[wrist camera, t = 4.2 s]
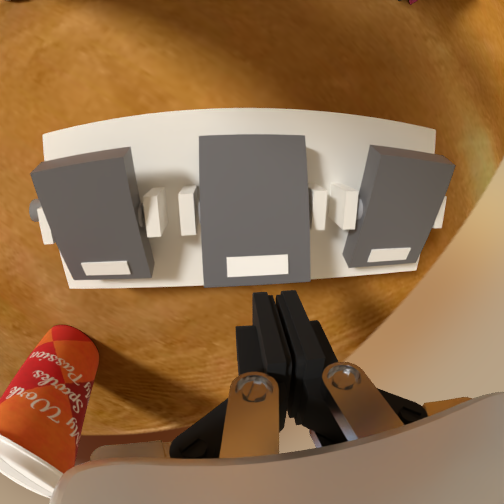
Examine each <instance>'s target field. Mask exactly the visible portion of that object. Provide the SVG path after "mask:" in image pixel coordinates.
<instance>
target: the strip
mask: <svg viewBox="0 0 504 504" xmlns="http://www.w3.org/2000/svg"><path fill="white" fill-rule="evenodd" d="M236 134H278V135H305V142H306V157H307V174H308V193H309V219H310V268H311V279H322V278H336V277H348V276H360V275H372V274H383V273H394V272H404V271H414V270H417V265H418V261H419V257H420V255H419V257H418V259H417V261H416V263H408V264H395V265H383V266H370V267H356V268H348V266H347V263H346V261H345V259H344V257H343V255H342V253H343V250H344V246H345V243H346V239H347V236H348V232H349V229H355V224H356V214H357V204H358V194H359V190H360V186H361V182H362V178H363V174H364V169H365V165H366V160H367V156H368V151H369V146H370V145H378V146H386V147H394V148H401V149H408V150H414V151H420V152H426V153H432V154H435V141H436V130H435V129H431V128H427V127H422V126H417V125H413V124H408V123H403V122H397V121H392V120H386V119H380V118H374V117H367V116H360V115H352V114H344V113H335V112H325V111H313V110H298V109H277V108H220V109H198V110H183V111H172V112H161V113H152V114H144V115H137V116H129V117H123V118H116V119H110V120H105V121H99V122H94V123H89V124H84V125H79V126H75V127H70V128H66V129H62V130H58V131H54V132H50V133H46V134H43V148H44V160H45V161H49V160H53V159H58V158H63V157H68V156H73V155H79V154H84V153H90V152H96V151H102V150H109V149H116V148H123V147H131V152H132V158H133V164H134V170H135V175H136V181H137V186H138V191H139V196H140V201H141V203H143V205H144V215H145V223H146V231H147V237H148V238H149V242H150V246H151V250H152V254H153V258H154V262H155V264H154V270H153V275H152V278H145V279H109V280H74V279H73V277H72V275H71V273H70V271H69V269H68V267H67V265H66V263H65V261H64V259H63V257H62V255H61V252H60V255H61V259H62V263H63V267H64V270H65V274H66V278H67V281H68V285H69V288H141V287H175V286H201V285H204V280H203V263H202V244H201V224H200V223H199V212H198V202H199V199H200V189H199V136H207V135H236ZM446 198H447V196H445V197H444V199H443V202H442V205H441V207H440V210H439V212H438V215H437V217H436V219H435V222H434V224H433V226H432V227H433V228H442V223H443V217H444V211H445V205H446ZM29 213H30V217H31V219H32V220H33V221H34V222H38V221H39V223H40V228H41V233H42V237H43V242H44V244H54V243H55V242H56V241H55V239H54V237H53V234H52V232H51V229H50V227H49V225H48V222H47V220H46V217H45V214H44V212H43V209H42V206H41V204H40V201H39V199H34V200H32V202H31V203H30V207H29ZM59 251H60V250H59Z"/></svg>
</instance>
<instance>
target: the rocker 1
mask: <svg viewBox="0 0 504 504" xmlns="http://www.w3.org/2000/svg"><path fill="white" fill-rule="evenodd" d="M30 174H31V177H32V181H33V184H34V187H35V190H36V192H37V195H38V198H39V201H40V204H41V206H42V209H43V212H44V214H45V217H46V220H47V222H48V225H49V227H50V229H51V232H52V234H53V237H54V239H55V241H56V244H57V246H58V248H59V250H60V252H61V255H62V257H63V259H64V261H65V263H66V265H67V267H68V269H69V271H70V273H71V275H72V277H73V279H74V280H109V279H145V278H152V275H153V270H154V264H155V262H154V258H153V254H152V250H151V246H150V242H149V238H148V237H147V231H146V223H145V215H144V205H143V203H141V201H140V196H139V191H138V186H137V181H136V175H135V170H134V164H133V158H132V152H131V147H123V148H116V149H109V150H102V151H96V152H90V153H84V154H79V155H73V156H68V157H63V158H58V159H53V160H49V161H44V162H41V163H40V164H39V165H38V166H37V167H36V168H35V169H34V170H33V171H32V172H31V173H30Z"/></svg>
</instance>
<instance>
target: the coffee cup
mask: <svg viewBox="0 0 504 504" xmlns="http://www.w3.org/2000/svg"><path fill="white" fill-rule="evenodd" d="M98 364H99V352H98V350H97V348H96V346H95V344H94V343H93V342H92V340H91V339H90V338H89V337H88V336H87V335H85V334H84V333H83V332H81V331H80V330H78V329H76V328H74V327H71V326H68V325H56V326H54V327H52V328H51V329H50V330H49V331H48V332H47V333H46V335H45V336H44V337H43V338H42V339H41V341H40V342H39V343H38V345H37V346H36V347H35V349H34V350H33V351H32V353H31V354H30V355H29V357H28V358H27V360H26V361H25V362H24V364H23V365H22V367H21V368H20V370H19V371H18V372H17V374H16V375H15V377H14V378H13V380H12V381H11V383H10V384H9V386H8V387H7V389H6V391H5V392H4V394H3V395H2V397H1V399H0V472H1V473H2V474H4V475H5V476H7V477H8V478H10V479H11V480H13V481H14V482H16V483H18V484H19V485H22V486H23V487H25V488H27V489H29V490H31V491H33V492H35V493H37V494H40V495H42V496H45V497H47V498H50V499H51V496H52V494H53V491H54V489H55V487H56V484H57V483H58V481H59V479H60V478H61V476H62V475H63V474H64V473H65V472H66V471H67V470H69V469H70V468H72V467H74V465H75V461H76V456H77V451H78V446H79V441H80V436H81V431H82V426H83V422H84V417H85V413H86V409H87V405H88V401H89V398H90V394H91V390H92V386H93V383H94V379H95V376H96V372H97V368H98Z"/></svg>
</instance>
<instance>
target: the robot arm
mask: <svg viewBox="0 0 504 504" xmlns="http://www.w3.org/2000/svg"><path fill="white" fill-rule="evenodd" d="M7 1H9V0H7ZM236 346H237V361H238V373H239V376H238V377H236V378H235V379H234V380H233V381H232V383H231V386H230V390H229V397H228V398H227V399H226V400H225V401H224V402H222V403H221V404H220V405H218V406H217V407H216V408H215V409H213V410H212V411H211V412H210V413H208V414H207V415H206V416H204V417H203V418H202V419H200V420H199V421H198V422H196V423H195V424H194V425H192V426H191V427H190V428H188V429H187V430H186V431H185V432H183V433H181V434H180V435H179V436H177V437H176V438H175V439H174V440H173V441H172V442H166V443H162V441H161V440H160V441H152V442H143V443H133V444H122V445H106V446H102V447H99V448H98V449H96V450H94V452H93V453H92V455H91V457H90V462H86V463H83V464H80V465H76V466H74V467H72V468H70V469H69V470H67V471H66V472H65V473H64V474H63V475H62V476H61V478H60V479H59V481H58V483H57V484H56V487H55V489H54V491H53V494H52V496H51V499H50V502H49V504H504V392H496V393H491V394H486V395H482V396H479V397H476V398H473V399H472V398H468V397H461V398H455V399H449V400H444V401H436V402H429V403H424V405H423V406H421V405H419V404H417V403H415V402H413V401H410V400H407V399H404V398H402V397H399V396H396V395H393V394H391V393H388V392H385V391H383V390H380V389H378V388H376V387H375V385H374V384H373V383H372V382H371V380H370V379H369V378H368V376H367V375H366V374H365V372H364V371H363V370H362V369H361V368H360V367H358V366H357V365H355V364H352V363H349V362H338V360H337V358H336V356H335V354H334V352H333V350H332V348H331V345H330V343H329V341H328V339H327V337H326V335H325V333H324V331H323V329H322V327H321V325H320V323H319V321H317V320H315V321H309V319H308V317H307V314H306V312H305V310H304V308H303V305H302V303H301V301H300V299H299V296H298V294H297V292H296V290H290V291H281V295H276V305H275V301H274V298H273V295H268V294H267V292H257V293H253V325H252V326H236ZM286 411H288V415H289V417H290V418H294V419H295V423H296V425H300V424H302V425H303V426H304V427H307V428H308V429H309V433H310V436H311V438H312V440H313V442H314V444H315V446H316V448H314V449H308V450H302V451H295V452H289V453H281V454H279V432H280V431H281V430H282V429H283V428H284V423H285V418H286Z"/></svg>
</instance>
